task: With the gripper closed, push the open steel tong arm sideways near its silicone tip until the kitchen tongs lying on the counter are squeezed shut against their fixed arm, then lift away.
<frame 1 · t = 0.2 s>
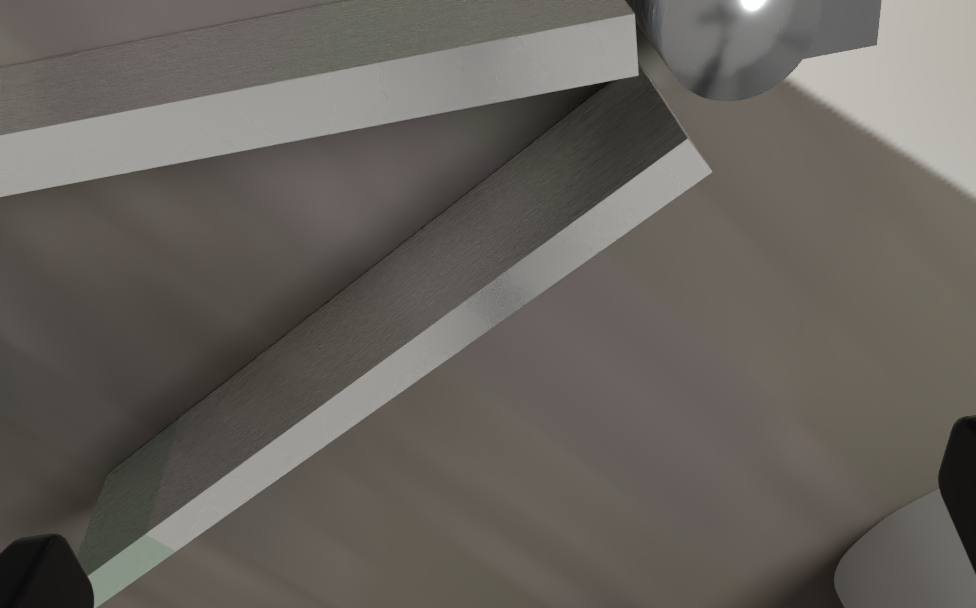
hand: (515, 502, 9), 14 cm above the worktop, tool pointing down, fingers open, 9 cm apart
tong arm: (346, 354, 23), point 2 cm above the worktop, hinge at 30.0°
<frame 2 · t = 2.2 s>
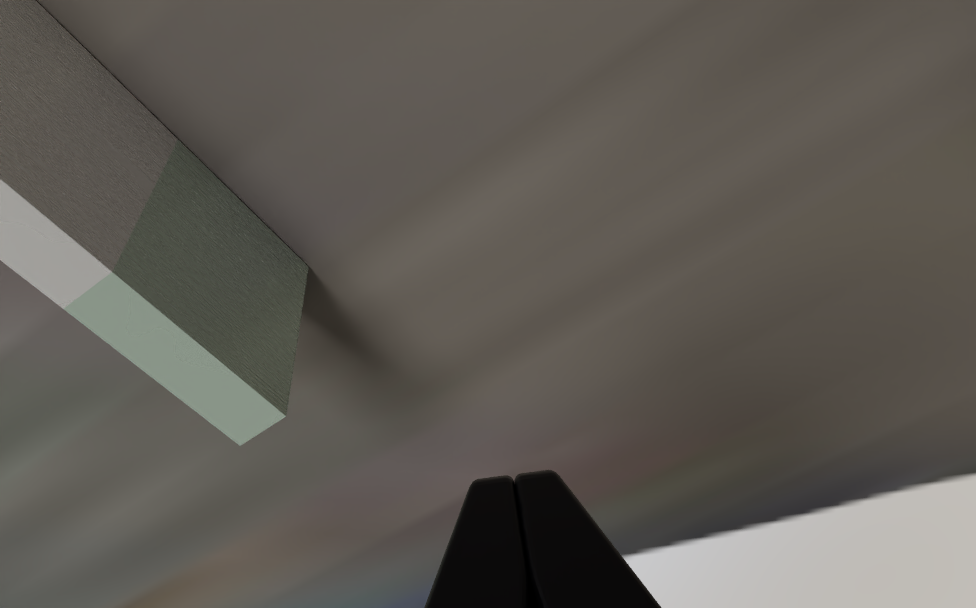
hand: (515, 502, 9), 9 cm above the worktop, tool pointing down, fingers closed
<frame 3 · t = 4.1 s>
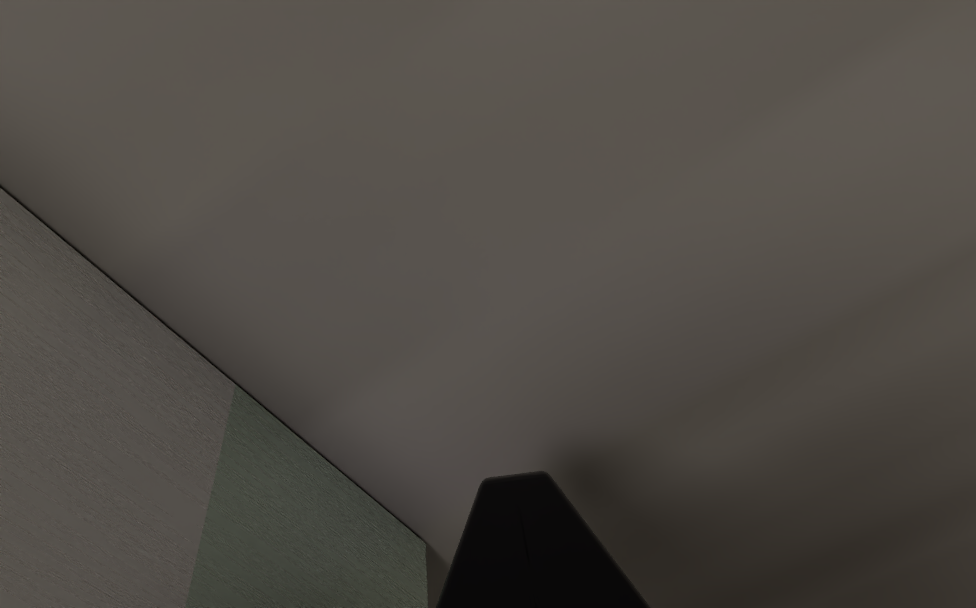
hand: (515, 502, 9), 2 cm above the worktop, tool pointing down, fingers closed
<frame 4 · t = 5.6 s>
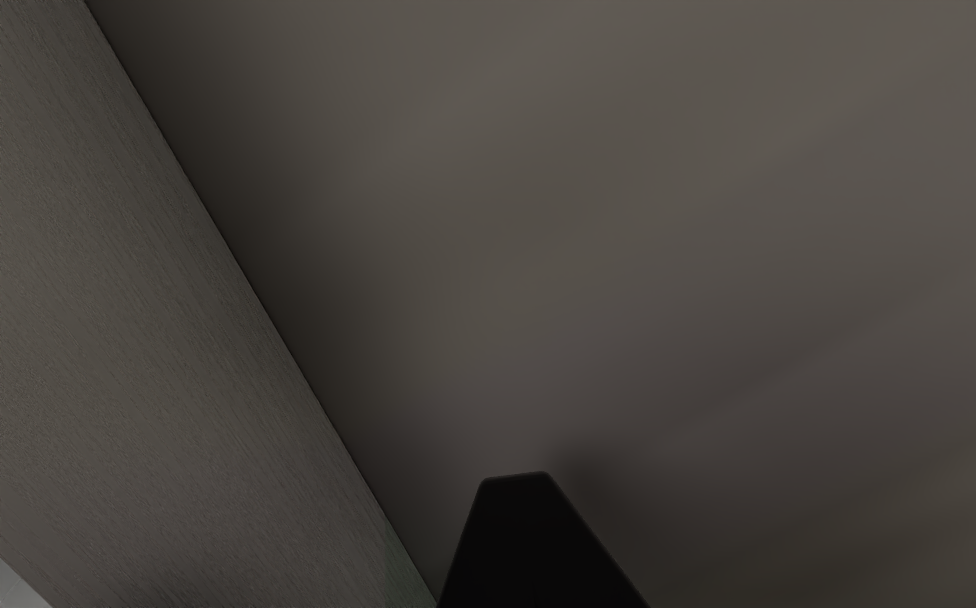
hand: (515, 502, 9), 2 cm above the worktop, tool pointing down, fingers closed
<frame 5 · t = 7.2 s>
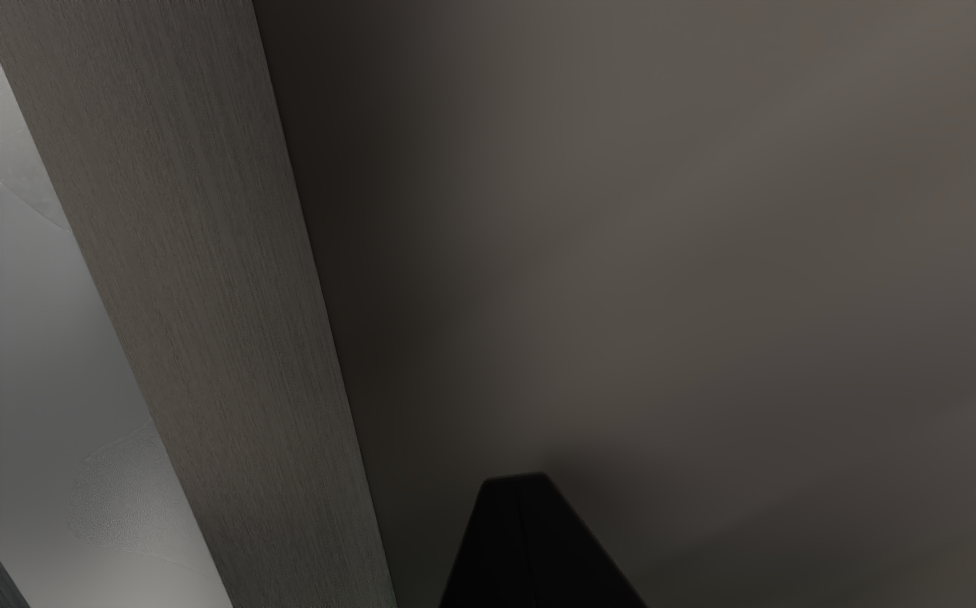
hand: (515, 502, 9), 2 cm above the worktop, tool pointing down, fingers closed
tong arm: (158, 213, 6), point 2 cm above the worktop, hinge at -0.1°, touching gripper
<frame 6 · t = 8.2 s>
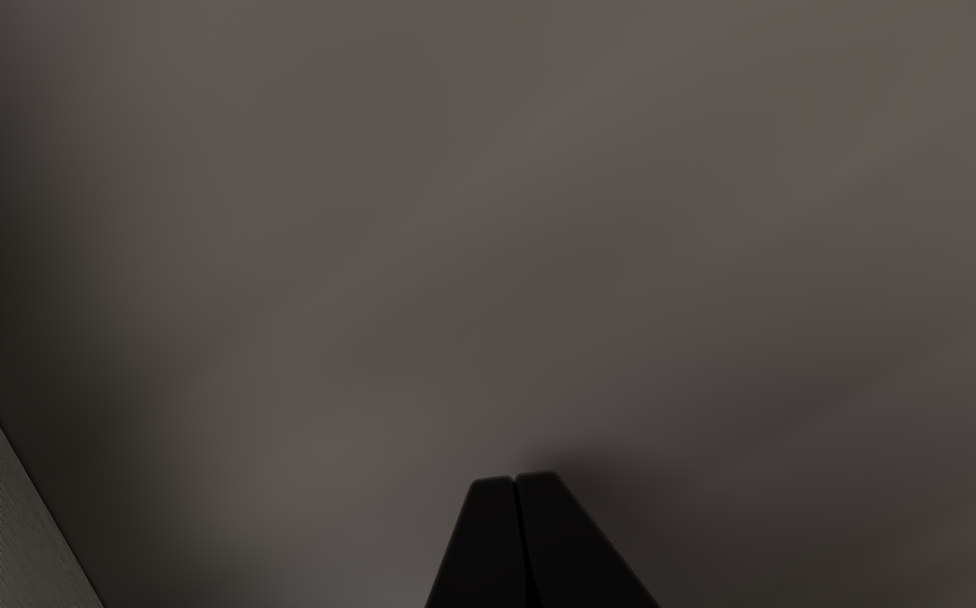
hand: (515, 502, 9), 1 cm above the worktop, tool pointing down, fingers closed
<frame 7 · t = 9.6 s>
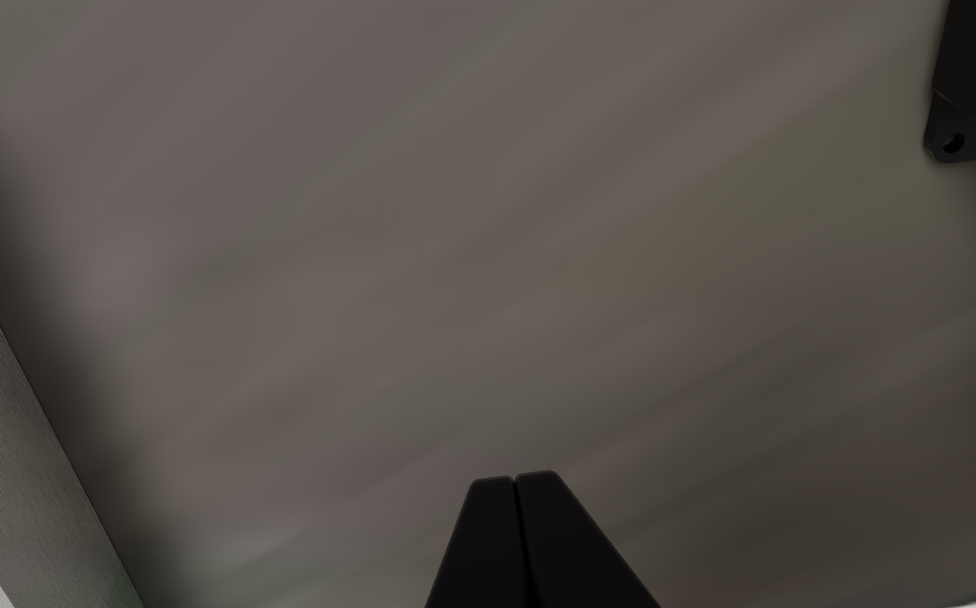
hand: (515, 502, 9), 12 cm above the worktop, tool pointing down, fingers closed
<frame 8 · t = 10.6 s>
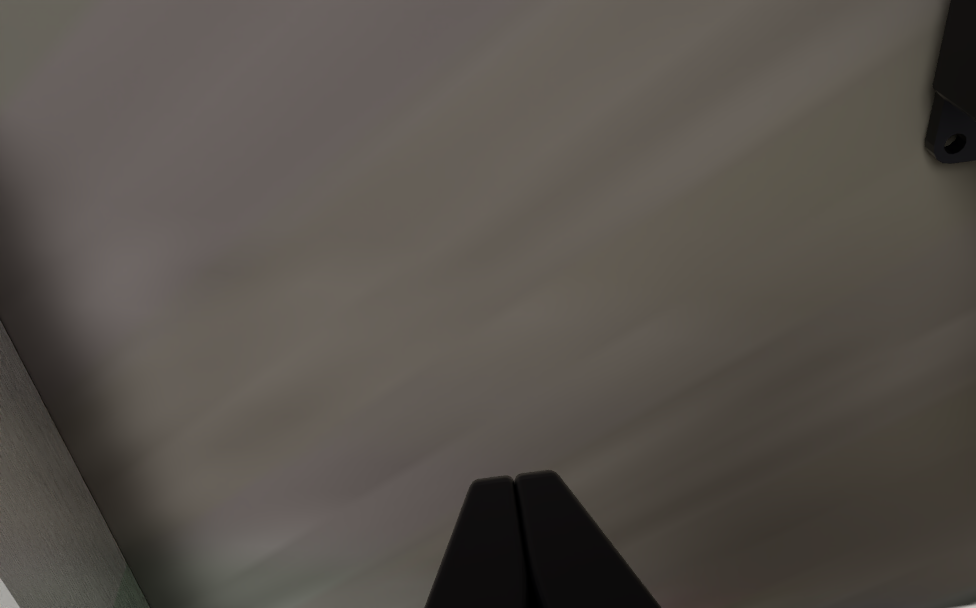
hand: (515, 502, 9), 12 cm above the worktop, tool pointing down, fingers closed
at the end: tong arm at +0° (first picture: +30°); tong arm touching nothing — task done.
